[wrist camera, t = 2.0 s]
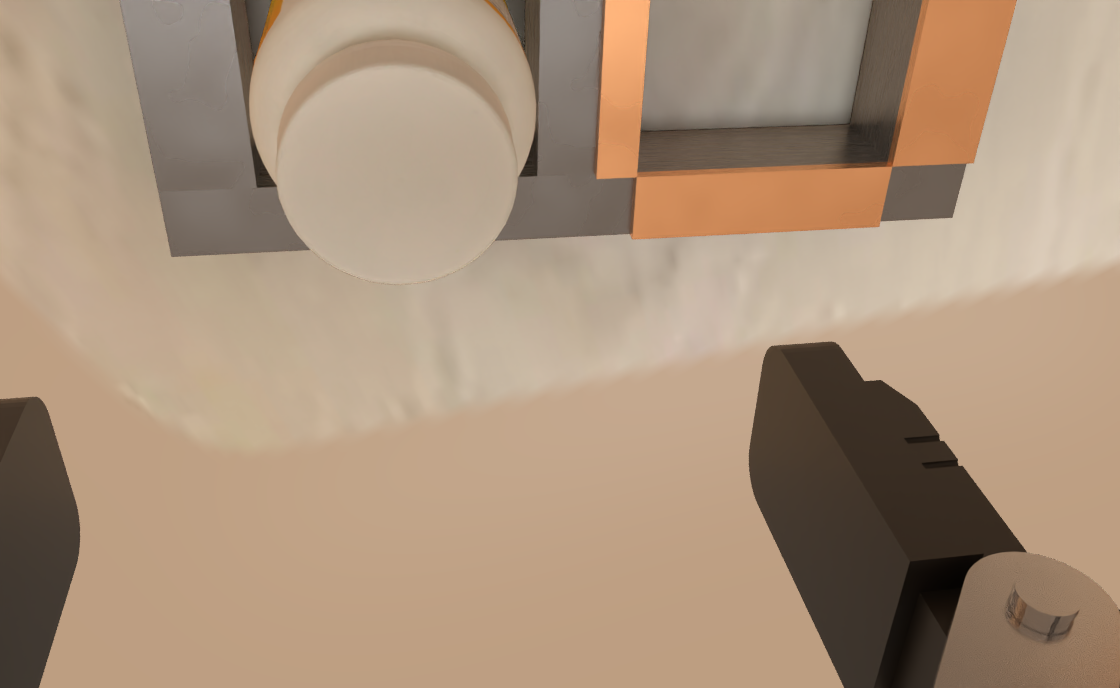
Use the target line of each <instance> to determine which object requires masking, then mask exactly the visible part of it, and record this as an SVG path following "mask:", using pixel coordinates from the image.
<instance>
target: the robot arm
mask: <svg viewBox="0 0 1120 688" xmlns="http://www.w3.org/2000/svg"><path fill="white" fill-rule="evenodd" d="M957 461H958V459H957V458H956V457H955V455H954V454H953V452H952V451H951V450H950V448H949V447H948V446H947V444H946V443H945V442H944V441H940V439H939V434H938V433H937V431H936V430H935V428H934V427H933V426H932V424H931V423H930V422H929V420H928V419H927V418H926V416H925V415H924V414H923V412H922V411H921V410H920V408H919V407H918V406H917V405H916V404H915V403H913V402H912V401H910V400H909V399H908V398H906V397H905V396H903V395H902V394H900V393H899V392H897V391H896V390H895V389H893V388H892V387H890V386H889V385H887V384H886V383H884V382H883V381H881V380H876V381H864V380H863V379H862V377H861V376H860V374H859V373H858V372H857V370H856V369H855V367H854V366H853V364H852V363H851V362H850V360H849V359H848V357H847V356H846V354H845V353H844V352H843V350H842V349H841V347H839V345H838V344H836V343H835V342H820V343H806V344H792V345H778V346H771V347H770V348H769V349H768V350H767V352H766V354H765V357H764V361H763V365H762V372H761V378H760V384H759V392H758V398H757V404H756V410H755V416H754V423H753V429H752V436H751V442H750V449H749V471H750V478H751V484H752V489H753V492H754V495H755V499H756V501H757V504H758V506H759V508H760V510H761V512H762V514H763V516H764V518H765V521H766V523H767V525H768V527H769V529H770V531H771V533H772V535H773V538H774V540H775V542H776V544H777V546H778V548H779V550H780V552H781V554H782V557H783V558H784V561H785V563H786V565H787V567H788V569H789V571H790V573H791V576H792V578H793V580H794V582H795V584H796V586H797V588H798V591H799V592H800V595H801V597H802V599H803V601H804V603H805V605H806V608H807V610H808V612H809V614H810V616H811V618H812V620H813V622H814V624H815V627H816V629H817V631H818V633H819V635H820V637H821V639H822V641H823V644H824V646H825V648H826V650H827V652H828V654H829V656H830V658H831V660H832V663H833V665H834V667H835V669H836V671H837V673H838V675H839V677H840V680H841V682H842V684H843V686H844V688H1120V610H1119V609H1118V607H1117V605H1116V604H1115V603H1114V601H1113V600H1112V598H1111V597H1110V596H1109V595H1108V594H1107V593H1106V591H1104V589H1102V587H1101V586H1099V585H1098V584H1097V583H1096V582H1094V581H1093V580H1092V579H1091V578H1089V577H1088V576H1087V575H1085V574H1083V573H1082V572H1080V571H1079V570H1077V569H1075V568H1073V567H1071V566H1069V565H1067V564H1065V563H1063V562H1060V561H1058V560H1055V559H1052V558H1049V557H1046V556H1042V555H1038V554H1032V553H1027V552H1026V550H1025V549H1024V548H1023V546H1022V545H1021V544H1020V542H1019V541H1018V540H1017V538H1016V537H1015V536H1014V535H1013V533H1012V532H1011V530H1010V529H1009V528H1008V526H1007V525H1006V523H1005V522H1004V521H1003V519H1002V518H1001V517H1000V516H999V514H998V513H997V511H996V510H995V509H994V507H993V506H992V505H991V503H990V502H989V501H988V499H987V498H986V497H985V495H984V494H983V493H982V492H981V490H980V489H979V487H978V486H977V485H976V483H975V482H974V481H973V479H972V478H971V477H970V475H969V474H968V473H967V471H966V470H965V469H964V467H963V466H958V462H957ZM79 547H80V524H79V515H78V509H77V505H76V501H75V498H74V495H73V492H72V488H71V485H70V482H69V478H68V475H67V472H66V468H65V465H64V462H63V459H62V456H61V452H60V449H59V446H58V442H57V439H56V436H55V433H54V429H53V426H52V423H51V419H50V416H49V413H48V410H47V408H46V406H45V404H44V403H43V401H42V400H41V399H40V398H38V397H26V398H13V399H0V688H39V685H40V682H41V678H42V675H43V672H44V669H45V666H46V662H47V659H48V656H49V653H50V649H51V646H52V643H53V640H54V636H55V633H56V630H57V626H58V623H59V620H60V617H61V614H62V610H63V607H64V604H65V601H66V597H67V594H68V591H69V587H70V584H71V581H72V578H73V575H74V571H75V568H76V564H77V561H78V555H79Z"/></svg>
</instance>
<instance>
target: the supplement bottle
mask: <svg viewBox="0 0 1120 688" xmlns="http://www.w3.org/2000/svg"><path fill="white" fill-rule="evenodd" d="M249 111H250V122H251V127H252V132H253V137H254V140H255V144H256V147H257V149H258V152H259V154H260V157H261V159H262V162H263V164H264V165H265V167H266V169H267V171H268V173H269V174H270V176H271V178H272V179H273V181H274V182H275V184H276V185H277V191H278V196H279V200H280V202H281V205H282V208H283V210H284V212H285V215H286V217H287V219H288V221H289V223H290V224H291V226H292V228H293V229H294V231H295V232H296V234H297V235H298V236H299V237H300V239H301V240H302V241H303V242H304V243H305V244H306V246H307V247H308V248H309V249H310V250H312V251H313V252H314V253H315V254H316V255H317V256H318V257H320V258H321V259H323V260H324V261H325V262H327V263H328V264H330V265H331V266H333V267H334V268H336V269H338V270H341V271H343V272H345V273H347V274H350V275H352V276H355V277H357V278H360V279H363V280H367V281H371V282H376V283H382V284H394V285H400V284H415V283H423V282H428V281H432V280H435V279H438V278H441V277H444V276H447V275H449V274H451V273H454V272H456V271H458V270H460V269H461V268H463V267H465V266H466V265H468V264H470V263H471V262H472V261H474V260H475V259H476V258H478V257H479V256H480V255H481V254H482V253H483V252H484V251H485V250H486V249H487V248H488V247H489V246H490V245H491V244H492V243H493V242H494V241H495V239H496V238H497V237H498V235H499V234H500V232H501V231H502V229H503V227H504V226H505V224H506V222H507V220H508V217H509V215H510V213H511V210H512V208H513V204H514V200H515V196H516V191H517V184H518V177H519V175H520V173H521V171H522V169H523V167H524V165H525V163H526V160H527V158H528V155H529V152H530V148H531V145H532V141H533V137H534V131H535V122H536V98H535V89H534V83H533V79H532V74H531V71H530V67H529V64H528V61H527V58H526V55H525V53H524V50H523V47H522V45H521V42H520V39H519V36H518V34H517V31H516V28H515V26H514V23H513V20H512V18H511V15H510V13H509V11H508V8H507V5H506V2H505V0H271V4H270V8H269V12H268V16H267V20H266V23H265V27H264V30H263V34H262V37H261V40H260V44H259V48H258V51H257V55H256V57H255V60H254V65H253V70H252V76H251V82H250V93H249Z"/></svg>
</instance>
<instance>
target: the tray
mask: <svg viewBox="0 0 1120 688" xmlns="http://www.w3.org/2000/svg"><path fill="white" fill-rule="evenodd" d="M119 1H120V6H121V10H122V15H123V20H124V25H125V30H126V35H127V40H128V45H129V50H130V55H131V60H132V65H133V69H134V74H135V79H136V84H137V89H138V94H139V99H140V104H141V109H142V114H143V119H144V123H145V128H146V133H147V138H148V143H149V148H150V153H151V158H152V163H153V168H154V173H155V178H156V182H157V187H158V192H159V197H160V202H161V207H162V212H163V217H164V222H165V227H166V232H167V236H168V241H169V246H170V251H171V256H172V257H178V256H198V255H218V254H238V253H258V252H278V251H298V250H310V249H309V248H308V247H307V246H306V244H305V243H304V242H303V241H302V240H301V239H300V237H299V236H298V235H297V234H296V232H295V231H294V229H293V228H292V226H291V224H290V223H289V221H288V219H287V217H286V215H285V212H284V210H283V208H282V205H281V202H280V200H279V196H278V191H277V185H276V184H275V182H274V181H273V179H272V178H271V176H270V174H269V173H268V171H267V169H266V167H265V165H264V164H263V162H262V159H261V157H260V154H259V152H258V149H257V147H256V144H255V140H254V137H253V132H252V127H251V122H250V111H249V93H250V82H251V76H252V70H253V65H254V63H253V55H252V48H251V41H250V33H249V26H248V19H247V12H246V4H245V0H119ZM1016 2H1017V0H874V1H873V6H872V11H871V17H870V22H869V27H868V32H867V37H866V43H865V48H864V53H863V58H862V64H861V69H860V74H859V79H858V84H857V90H856V95H855V100H854V105H853V111H852V116H851V121H850V124H847V125H819V126H791V127H763V128H735V129H707V130H679V131H651V132H640V129H641V116H642V102H643V89H644V75H645V62H646V48H647V35H648V22H649V8H650V0H525V55H526V58H527V61H528V64H529V67H530V71H531V74H532V79H533V83H534V89H535V98H536V122H535V131H534V137H533V141H532V145H531V148H530V152H529V155H528V158H527V160H526V163H525V165H524V167H523V169H522V171H521V173H520V175H519V177H518V184H517V191H516V196H515V200H514V204H513V208H512V210H511V213H510V215H509V217H508V220H507V222H506V224H505V226H504V227H503V229H502V231H501V232H500V234H499V235H498V237H497V238H496V239H495V241H497V240H517V239H537V238H557V237H577V236H597V235H617V234H630V235H631V238H632V239H650V238H669V237H689V236H708V235H728V234H748V233H767V232H787V231H807V230H826V229H846V228H865V227H879V225H880V221H896V220H916V219H936V218H952V217H953V213H954V209H955V206H956V202H957V198H958V194H959V190H960V187H961V183H962V179H963V175H964V171H965V167H966V164H967V163H974V159H975V156H976V152H977V148H978V144H979V141H980V137H981V133H982V129H983V126H984V122H985V118H986V114H987V111H988V107H989V103H990V99H991V95H992V92H993V88H994V84H995V80H996V77H997V73H998V69H999V65H1000V62H1001V58H1002V54H1003V50H1004V47H1005V43H1006V39H1007V35H1008V32H1009V28H1010V24H1011V20H1012V17H1013V13H1014V9H1015V5H1016Z"/></svg>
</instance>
